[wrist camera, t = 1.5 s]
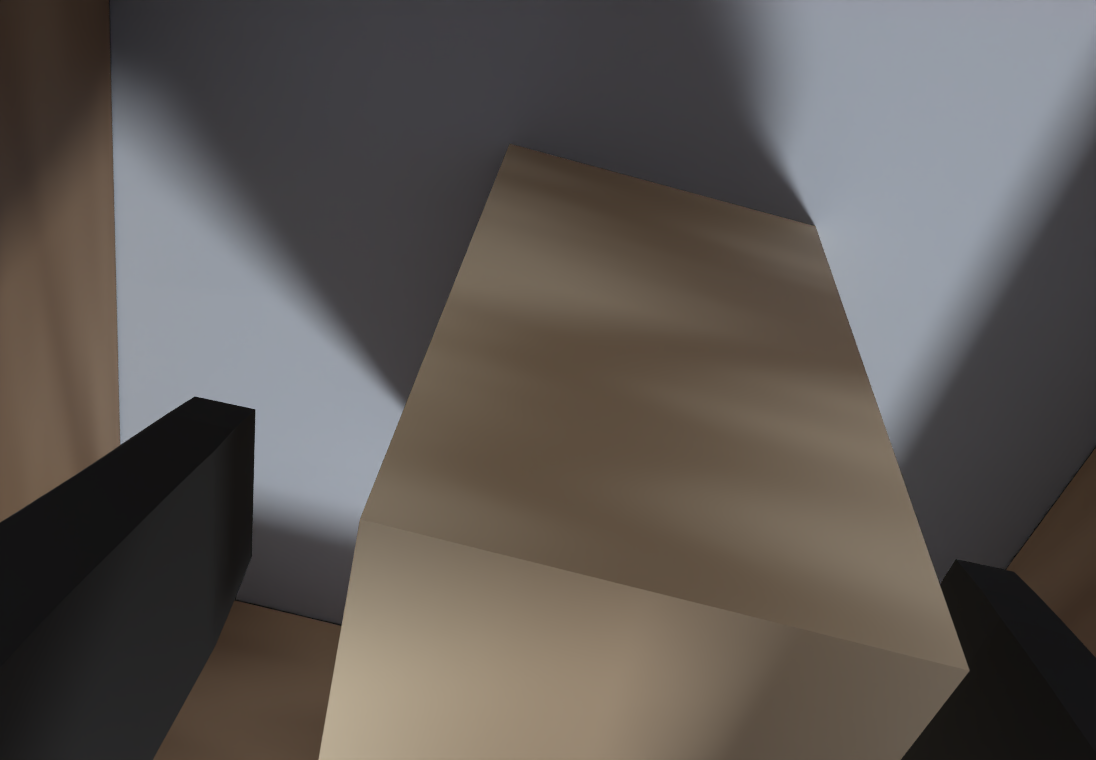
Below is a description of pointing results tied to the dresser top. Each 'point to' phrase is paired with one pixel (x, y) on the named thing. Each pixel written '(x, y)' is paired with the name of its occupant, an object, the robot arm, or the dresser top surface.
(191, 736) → the walnut crate
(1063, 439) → the dresser top surface
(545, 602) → the maple block
